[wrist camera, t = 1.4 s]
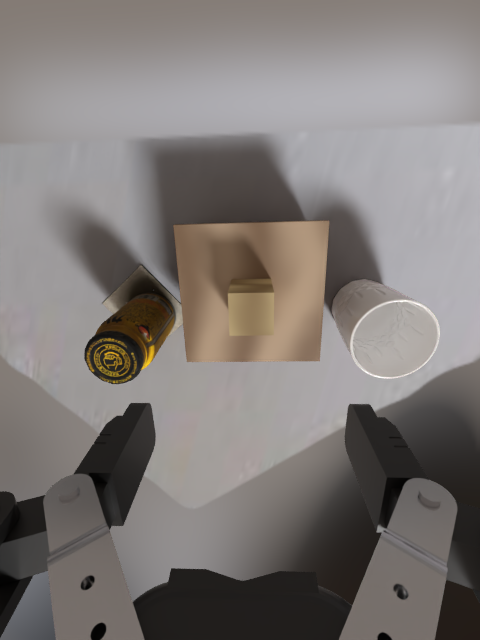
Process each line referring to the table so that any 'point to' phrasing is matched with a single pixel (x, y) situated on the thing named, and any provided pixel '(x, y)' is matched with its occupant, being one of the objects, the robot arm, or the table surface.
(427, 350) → the white cup
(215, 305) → the lid
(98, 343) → the condiment
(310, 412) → the table surface
